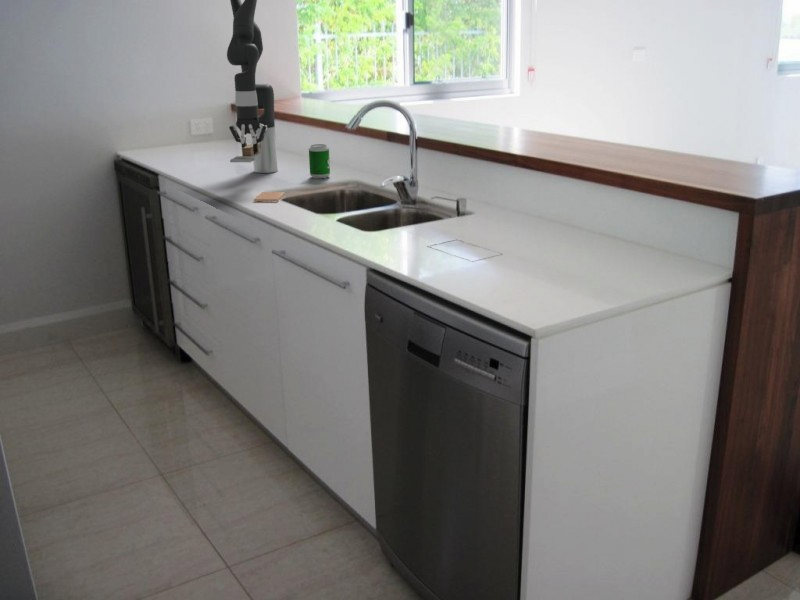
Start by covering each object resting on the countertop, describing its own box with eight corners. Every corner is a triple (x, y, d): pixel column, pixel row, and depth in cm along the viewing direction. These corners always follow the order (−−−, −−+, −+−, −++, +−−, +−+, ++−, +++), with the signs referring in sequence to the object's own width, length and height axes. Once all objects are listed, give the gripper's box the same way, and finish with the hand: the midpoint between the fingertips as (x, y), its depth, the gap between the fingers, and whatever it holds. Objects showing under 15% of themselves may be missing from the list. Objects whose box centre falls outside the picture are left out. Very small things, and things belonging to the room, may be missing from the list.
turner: (248, 152, 289) (247, 142, 288) (266, 152, 288) (266, 142, 287) (230, 162, 268) (229, 151, 267) (250, 162, 268) (249, 152, 266)
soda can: (326, 179, 295) (325, 147, 291) (307, 178, 296) (305, 146, 292) (332, 175, 302) (331, 144, 298) (313, 175, 303) (312, 143, 299)
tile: (262, 192, 270) (253, 199, 260) (285, 192, 269) (277, 199, 259) (262, 196, 270) (254, 203, 260) (285, 196, 270) (277, 203, 259)
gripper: (269, 103, 277) (272, 152, 283) (230, 103, 278) (234, 152, 284) (263, 105, 270) (267, 155, 276) (223, 105, 271) (228, 155, 277)
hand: (250, 153), depth 280 cm, fingers closed on turner, 3 cm apart
